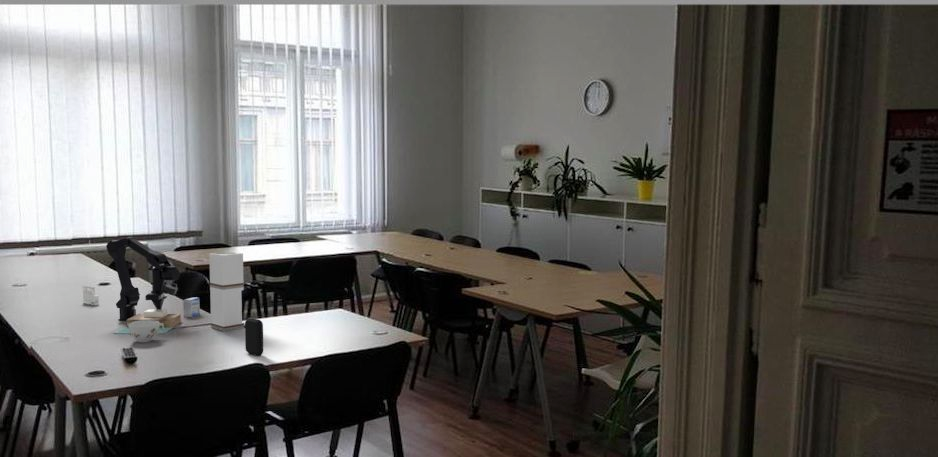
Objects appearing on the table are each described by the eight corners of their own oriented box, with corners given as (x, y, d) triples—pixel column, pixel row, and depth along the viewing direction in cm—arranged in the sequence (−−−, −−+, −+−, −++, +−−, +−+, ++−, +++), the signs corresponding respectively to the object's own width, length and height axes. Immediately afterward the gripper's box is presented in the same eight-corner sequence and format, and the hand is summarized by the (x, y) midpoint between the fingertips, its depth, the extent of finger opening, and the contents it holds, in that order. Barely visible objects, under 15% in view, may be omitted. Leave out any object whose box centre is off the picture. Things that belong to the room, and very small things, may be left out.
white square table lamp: (244, 327, 370) (242, 253, 367) (223, 331, 362) (222, 255, 359) (231, 324, 378) (230, 251, 375) (211, 327, 370) (209, 253, 367)
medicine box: (191, 317, 393) (191, 300, 393) (183, 316, 394) (182, 299, 393) (199, 314, 401) (199, 297, 400) (191, 313, 402) (191, 297, 401)
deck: (127, 328, 367) (126, 319, 367) (139, 321, 381) (138, 313, 381) (170, 328, 368) (170, 319, 367) (180, 322, 382) (180, 313, 381)
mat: (113, 333, 355) (113, 333, 355) (124, 328, 367) (124, 327, 367) (162, 333, 356) (162, 333, 356) (172, 328, 368) (172, 327, 368)
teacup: (135, 345, 333) (134, 327, 332) (124, 340, 342) (123, 322, 341) (170, 340, 343) (169, 322, 343) (158, 335, 352) (158, 317, 352)
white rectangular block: (143, 317, 373) (143, 311, 373) (148, 314, 379) (148, 309, 379) (162, 317, 373) (162, 311, 373) (167, 314, 379) (167, 309, 379)
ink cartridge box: (87, 303, 430) (86, 285, 429) (99, 305, 424) (98, 287, 424) (82, 303, 428) (82, 285, 427) (94, 305, 422) (94, 287, 421)
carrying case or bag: (242, 353, 322) (241, 317, 320) (248, 351, 324) (247, 316, 323) (259, 357, 315) (258, 320, 314) (265, 355, 318) (264, 319, 317)
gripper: (168, 282, 370) (169, 315, 372) (181, 276, 389) (182, 308, 390) (144, 282, 370) (145, 315, 371) (159, 276, 389) (160, 308, 390)
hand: (159, 311), depth 381 cm, fingers closed
